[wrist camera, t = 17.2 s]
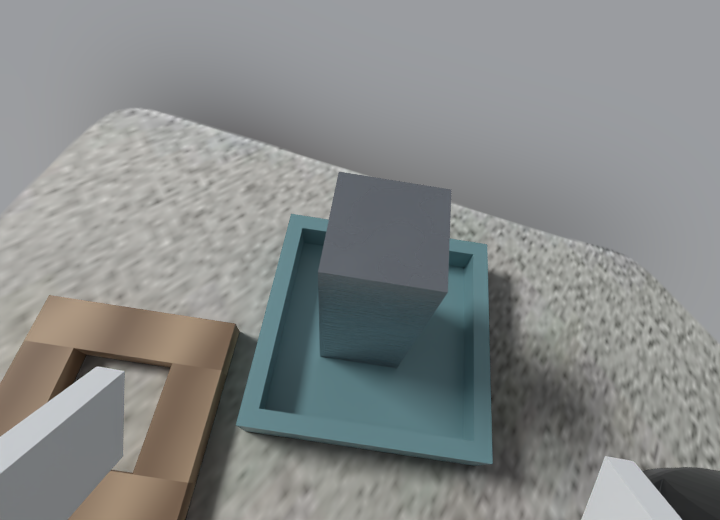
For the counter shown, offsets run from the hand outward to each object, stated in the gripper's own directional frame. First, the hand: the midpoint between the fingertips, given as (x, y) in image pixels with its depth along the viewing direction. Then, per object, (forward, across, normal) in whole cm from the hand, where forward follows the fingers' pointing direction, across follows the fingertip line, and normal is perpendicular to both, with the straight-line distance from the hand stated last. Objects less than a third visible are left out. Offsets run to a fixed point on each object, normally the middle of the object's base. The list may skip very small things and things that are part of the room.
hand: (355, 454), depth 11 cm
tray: (+16, +1, -4) cm, 17 cm away
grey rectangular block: (+16, 0, -3) cm, 16 cm away
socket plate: (+11, -14, -9) cm, 20 cm away
